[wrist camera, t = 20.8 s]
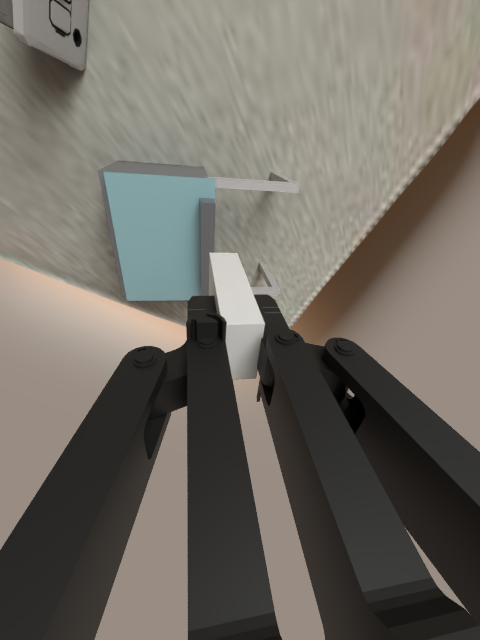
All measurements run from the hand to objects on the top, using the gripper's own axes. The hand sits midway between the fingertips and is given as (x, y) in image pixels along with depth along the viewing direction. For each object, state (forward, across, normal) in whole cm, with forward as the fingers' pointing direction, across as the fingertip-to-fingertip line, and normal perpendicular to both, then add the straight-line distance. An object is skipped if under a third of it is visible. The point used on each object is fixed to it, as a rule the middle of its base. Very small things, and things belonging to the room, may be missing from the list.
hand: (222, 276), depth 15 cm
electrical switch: (+33, -15, +16) cm, 39 cm away
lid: (+22, -5, -6) cm, 23 cm away
